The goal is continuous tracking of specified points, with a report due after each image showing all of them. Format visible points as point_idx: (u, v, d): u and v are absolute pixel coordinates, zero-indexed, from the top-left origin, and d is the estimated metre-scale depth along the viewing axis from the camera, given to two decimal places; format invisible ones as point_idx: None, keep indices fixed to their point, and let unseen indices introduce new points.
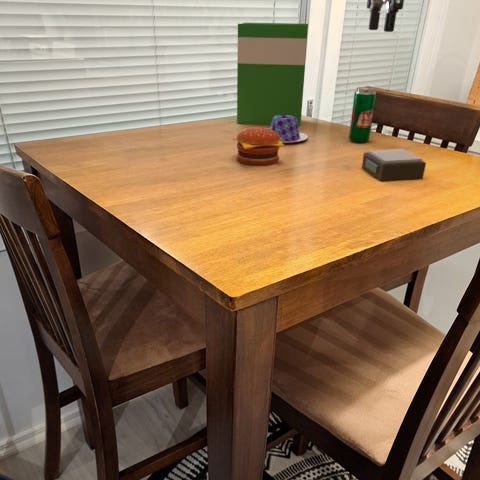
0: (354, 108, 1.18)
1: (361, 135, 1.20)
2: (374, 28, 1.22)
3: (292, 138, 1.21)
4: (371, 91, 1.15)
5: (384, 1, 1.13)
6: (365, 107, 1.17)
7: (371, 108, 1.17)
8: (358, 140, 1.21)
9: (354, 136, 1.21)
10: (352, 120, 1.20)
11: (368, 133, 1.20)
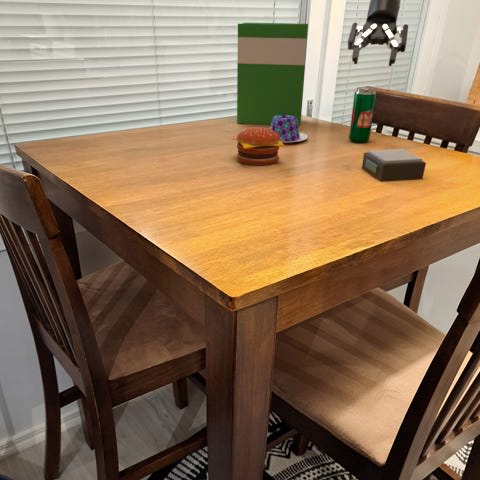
0: (354, 108, 1.18)
1: (361, 135, 1.20)
2: (389, 62, 1.22)
3: (292, 138, 1.21)
4: (371, 91, 1.15)
5: None
6: (365, 107, 1.17)
7: (371, 108, 1.17)
8: (358, 140, 1.21)
9: (354, 136, 1.21)
10: (352, 120, 1.20)
11: (368, 133, 1.20)
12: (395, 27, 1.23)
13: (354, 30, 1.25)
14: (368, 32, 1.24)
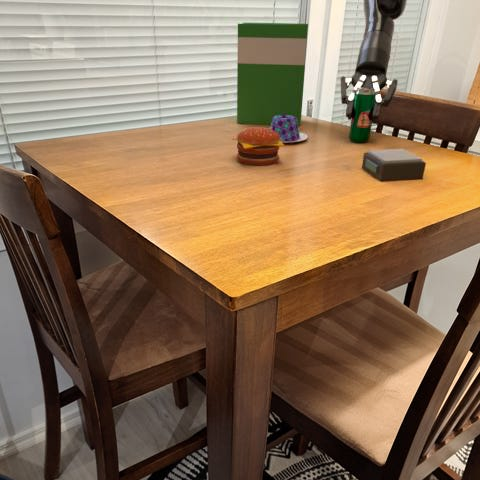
0: (354, 108, 1.18)
1: (361, 135, 1.20)
2: (372, 117, 1.18)
3: (292, 138, 1.21)
4: (371, 91, 1.15)
5: None
6: (365, 107, 1.17)
7: (371, 108, 1.17)
8: (358, 140, 1.21)
9: (354, 136, 1.21)
10: (352, 120, 1.20)
11: (368, 133, 1.20)
12: (385, 79, 1.18)
13: (344, 84, 1.20)
14: (359, 85, 1.19)
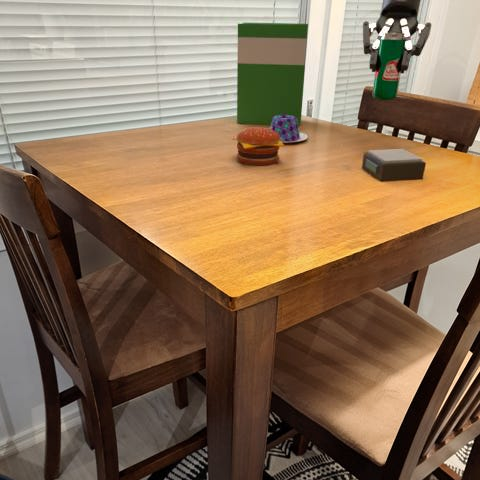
0: (379, 57, 1.00)
1: (387, 90, 1.02)
2: None
3: (292, 138, 1.21)
4: (400, 35, 0.97)
5: None
6: (393, 56, 0.98)
7: (400, 57, 0.99)
8: (384, 96, 1.02)
9: (379, 92, 1.02)
10: (377, 72, 1.01)
11: (396, 88, 1.02)
12: (416, 23, 1.00)
13: (367, 30, 1.02)
14: (385, 30, 1.00)
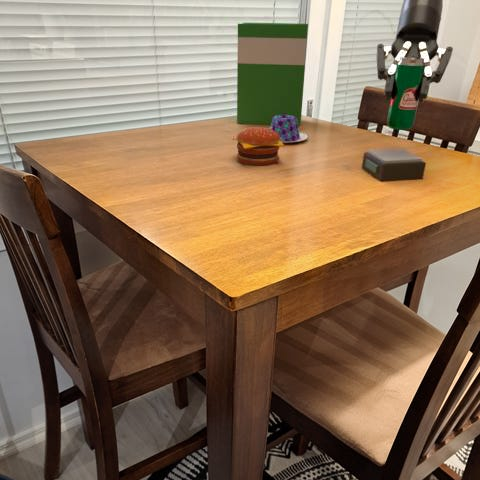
0: (396, 84, 0.91)
1: (404, 120, 0.93)
2: (419, 96, 0.91)
3: (292, 138, 1.21)
4: (420, 61, 0.88)
5: None
6: (411, 83, 0.89)
7: (419, 84, 0.90)
8: (400, 126, 0.93)
9: (395, 121, 0.93)
10: (392, 100, 0.92)
11: (413, 117, 0.93)
12: (435, 47, 0.91)
13: (382, 53, 0.93)
14: (402, 54, 0.91)
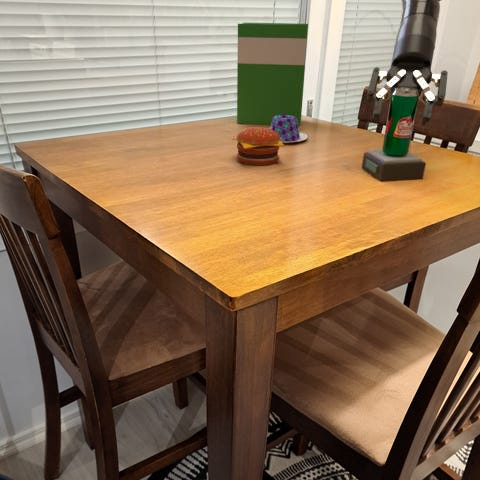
0: (391, 113, 0.94)
1: (398, 148, 0.96)
2: (422, 120, 0.93)
3: (292, 138, 1.21)
4: (413, 92, 0.91)
5: None
6: (405, 113, 0.92)
7: (413, 113, 0.93)
8: (395, 153, 0.96)
9: (390, 148, 0.96)
10: (388, 128, 0.95)
11: (407, 145, 0.96)
12: (430, 74, 0.94)
13: (376, 77, 0.96)
14: (394, 81, 0.94)
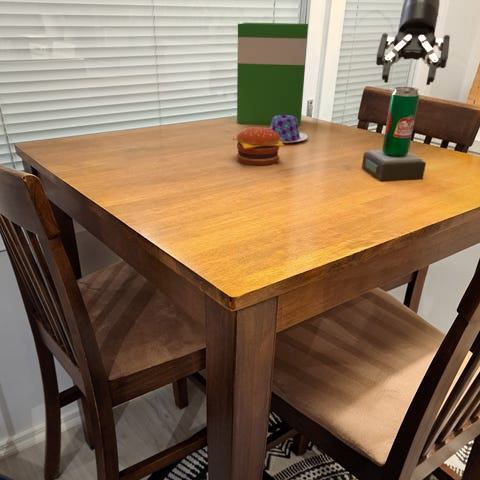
0: (391, 113, 0.94)
1: (398, 148, 0.96)
2: (427, 80, 1.02)
3: (292, 138, 1.21)
4: (413, 92, 0.91)
5: None
6: (405, 113, 0.92)
7: (413, 113, 0.93)
8: (395, 153, 0.96)
9: (390, 148, 0.96)
10: (388, 128, 0.95)
11: (407, 145, 0.96)
12: (434, 38, 1.03)
13: (384, 42, 1.05)
14: (401, 45, 1.03)
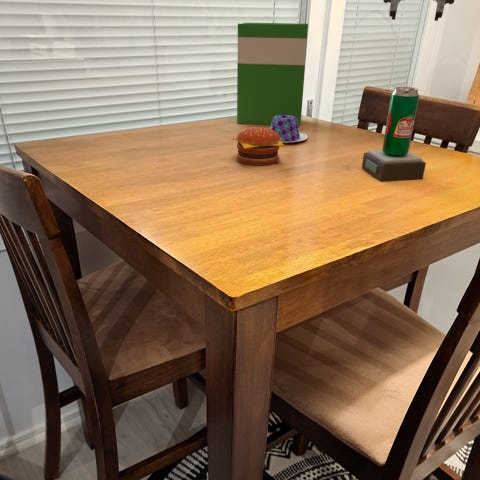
0: (391, 113, 0.94)
1: (398, 148, 0.96)
2: (435, 15, 1.01)
3: (292, 138, 1.21)
4: (413, 92, 0.91)
5: None
6: (405, 113, 0.92)
7: (413, 113, 0.93)
8: (395, 153, 0.96)
9: (390, 148, 0.96)
10: (388, 128, 0.95)
11: (407, 145, 0.96)
12: None
13: None
14: None
